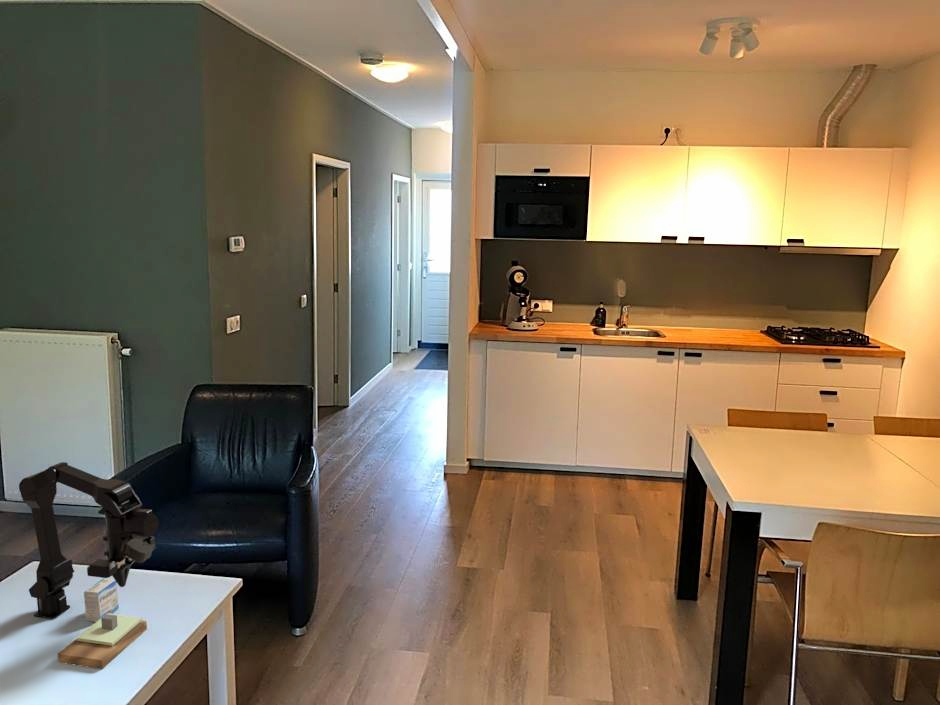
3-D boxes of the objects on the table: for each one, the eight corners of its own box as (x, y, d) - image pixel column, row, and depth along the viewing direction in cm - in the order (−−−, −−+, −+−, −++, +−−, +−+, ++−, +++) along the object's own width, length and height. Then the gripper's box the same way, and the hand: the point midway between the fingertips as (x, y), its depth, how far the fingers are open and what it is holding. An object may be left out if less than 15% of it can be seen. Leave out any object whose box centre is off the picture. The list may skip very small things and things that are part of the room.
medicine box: (100, 623, 202) (98, 593, 201) (85, 620, 203) (83, 591, 202) (119, 608, 210) (117, 579, 208) (105, 606, 211) (103, 577, 209)
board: (58, 662, 185) (57, 653, 184) (106, 623, 202) (105, 615, 202) (102, 669, 183) (101, 660, 182) (146, 629, 200) (146, 621, 200)
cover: (76, 640, 189) (75, 626, 189) (107, 615, 201) (106, 602, 200) (112, 645, 188) (111, 631, 187) (141, 620, 199) (140, 607, 198)
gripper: (124, 549, 185) (128, 607, 188) (167, 519, 203) (170, 573, 206) (83, 544, 187) (88, 602, 190) (130, 515, 205) (133, 568, 208)
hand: (122, 586), depth 198 cm, fingers closed
